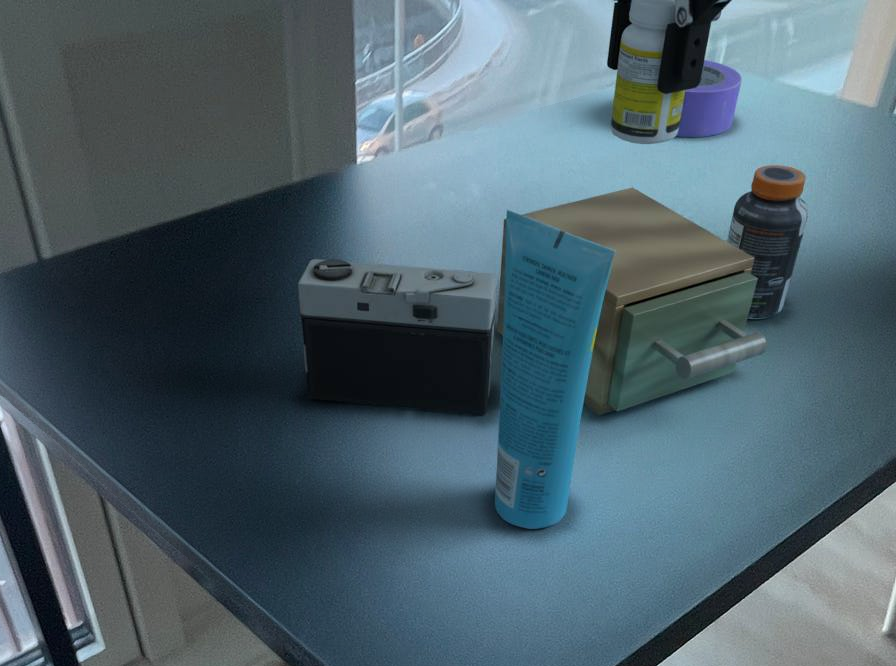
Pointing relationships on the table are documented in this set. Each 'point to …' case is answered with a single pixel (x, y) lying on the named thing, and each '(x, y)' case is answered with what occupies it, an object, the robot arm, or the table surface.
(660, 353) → the drawer
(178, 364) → the table surface
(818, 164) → the table surface
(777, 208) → the pill bottle
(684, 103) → the tape roll
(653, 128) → the supplement bottle
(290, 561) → the table surface
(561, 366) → the tube
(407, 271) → the camera
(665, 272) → the cabinet
